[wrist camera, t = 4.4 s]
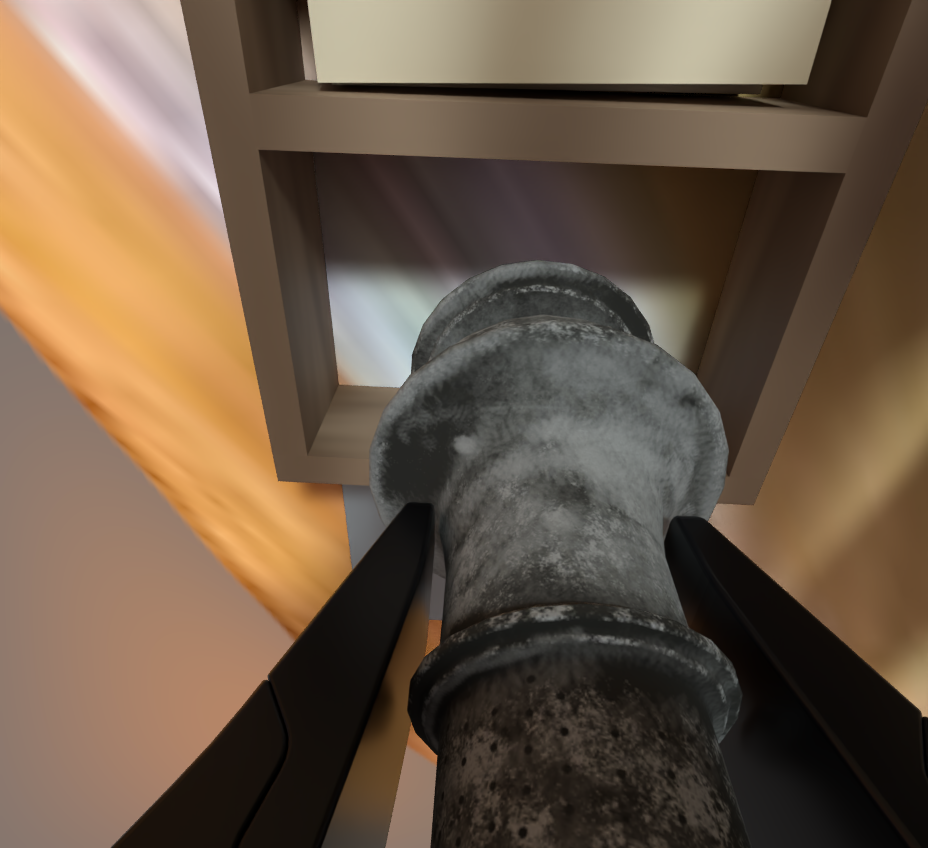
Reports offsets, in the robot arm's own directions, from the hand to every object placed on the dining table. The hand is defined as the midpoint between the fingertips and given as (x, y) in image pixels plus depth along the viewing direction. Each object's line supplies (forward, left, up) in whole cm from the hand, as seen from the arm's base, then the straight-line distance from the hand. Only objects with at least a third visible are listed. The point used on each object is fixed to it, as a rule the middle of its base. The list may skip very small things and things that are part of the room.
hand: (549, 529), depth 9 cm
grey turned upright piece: (0, 0, -5) cm, 5 cm away
